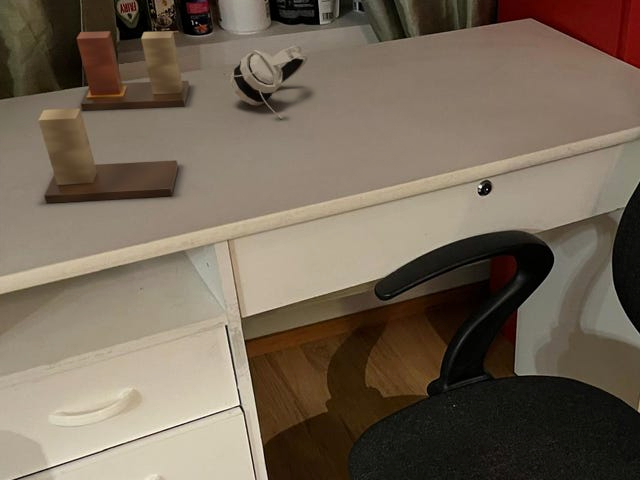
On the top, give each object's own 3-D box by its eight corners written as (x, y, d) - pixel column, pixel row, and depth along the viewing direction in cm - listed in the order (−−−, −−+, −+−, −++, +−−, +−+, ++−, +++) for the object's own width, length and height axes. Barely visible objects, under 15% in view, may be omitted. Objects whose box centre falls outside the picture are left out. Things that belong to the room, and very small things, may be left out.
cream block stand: (46, 203, 100) (23, 128, 94) (60, 173, 106) (39, 102, 100) (171, 196, 102) (156, 122, 96) (178, 167, 108) (164, 97, 103)
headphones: (184, 120, 119) (279, 83, 133) (241, 138, 115) (331, 97, 130) (176, 60, 114) (275, 28, 129) (234, 76, 110) (329, 41, 125)
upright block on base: (82, 110, 122) (65, 46, 117) (91, 90, 128) (76, 28, 123) (184, 106, 124) (172, 42, 119) (189, 86, 131) (178, 25, 125)
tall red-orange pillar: (90, 95, 124) (76, 38, 119) (94, 88, 126) (80, 32, 121) (120, 94, 124) (106, 37, 119) (123, 87, 127) (110, 31, 122)
